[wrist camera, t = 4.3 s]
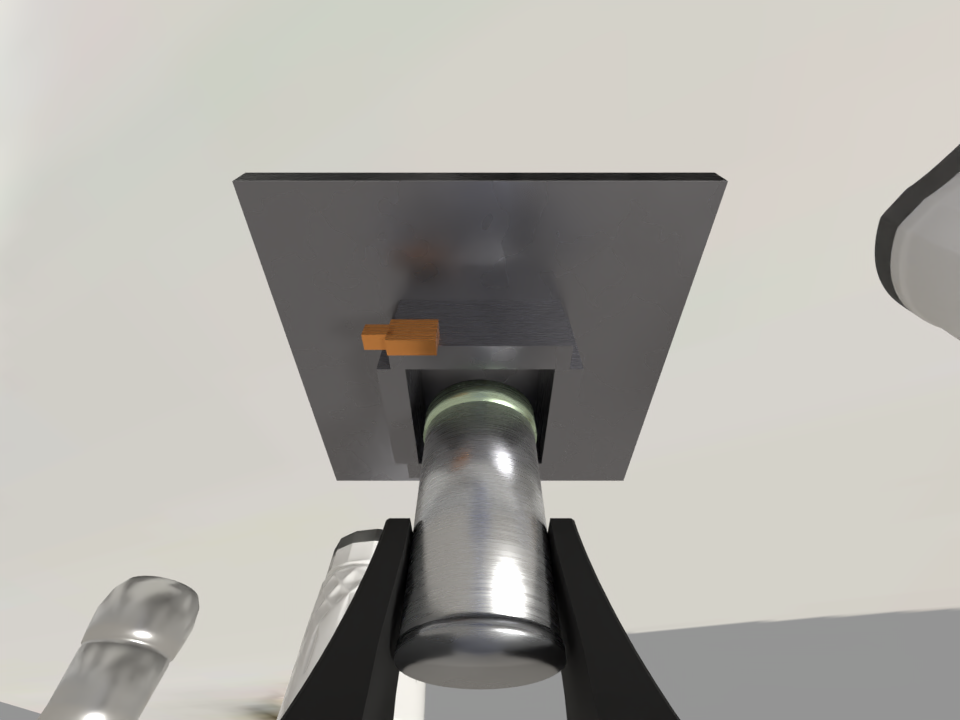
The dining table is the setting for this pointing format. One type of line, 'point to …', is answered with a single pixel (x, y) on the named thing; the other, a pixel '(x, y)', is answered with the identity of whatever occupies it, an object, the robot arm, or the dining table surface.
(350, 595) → the white cup
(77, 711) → the plastic bottle
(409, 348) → the stand base
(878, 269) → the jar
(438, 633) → the silver metal canister
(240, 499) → the dining table surface
